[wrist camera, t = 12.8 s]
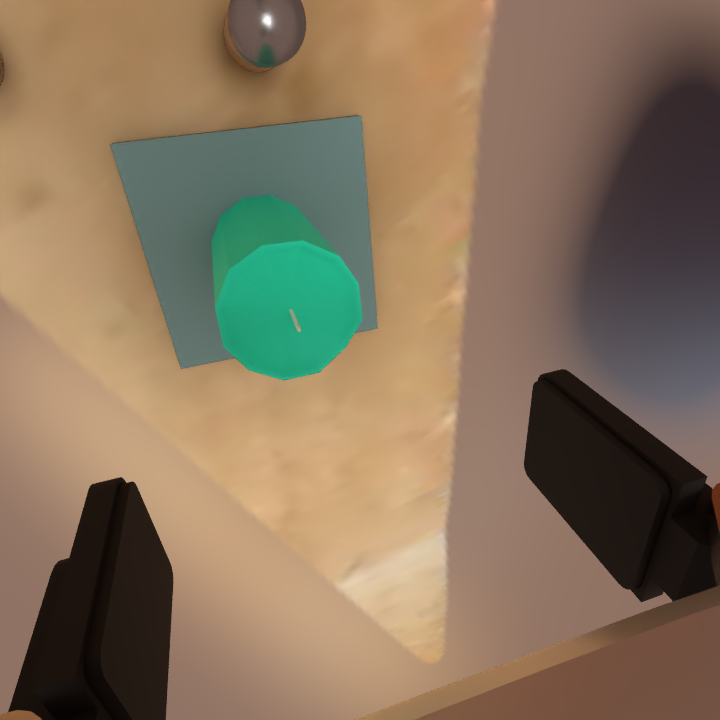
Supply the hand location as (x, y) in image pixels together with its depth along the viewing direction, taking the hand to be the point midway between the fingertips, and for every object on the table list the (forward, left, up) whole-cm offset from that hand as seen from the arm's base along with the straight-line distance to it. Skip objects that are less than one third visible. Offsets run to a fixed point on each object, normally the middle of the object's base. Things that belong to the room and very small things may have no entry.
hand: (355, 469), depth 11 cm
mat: (0, 0, -21) cm, 21 cm away
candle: (0, 0, -20) cm, 20 cm away
